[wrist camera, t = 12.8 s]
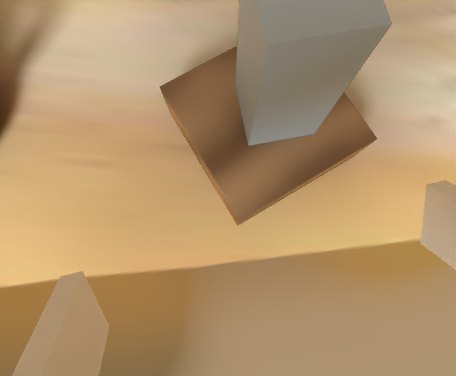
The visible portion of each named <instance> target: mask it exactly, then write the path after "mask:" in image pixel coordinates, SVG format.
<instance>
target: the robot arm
mask: <svg viewBox="0 0 456 376" xmlns="http://www.w3.org/2000/svg"><path fill="white" fill-rule="evenodd" d="M420 243H421V244H422V245H424V246H425V247H426V248H427V249H429V250H430V251H431V252H433V253H434V254H435V255H437V256H438V257H439V258H441V259H442V260H443V261H445V262H446V263H447V264H449V265H450V266H451V267H453V268H454V269H455V270H456V185H454V184H452V183H449V182H447V181H445V180H444V181H440V182H436V183H432V184H428V185H427V187H426V196H425V204H424V213H423V222H422V230H421V239H420ZM108 330H109V325H108V323H107V321H106V319H105V317H104V314H103V312H102V310H101V308H100V306H99V304H98V302H97V300H96V298H95V296H94V294H93V292H92V290H91V288H90V286H89V284H88V282H87V279H86V277H85V275H84V273H83V271H81V272H77V273H73V274H69V275H65V276H61V277H60V278H59V280H58V282H57V285H56V286H55V288H54V290H53V293H52V295H51V297H50V299H49V301H48V303H47V305H46V307H45V309H44V311H43V313H42V315H41V317H40V319H39V321H38V323H37V325H36V328H35V329H34V331H33V334H32V336H31V338H30V340H29V342H28V344H27V346H26V348H25V350H24V352H23V354H22V356H21V358H20V360H19V362H18V364H17V366H16V368H15V370H14V372H13V375H12V376H99V371H100V366H101V362H102V357H103V353H104V348H105V344H106V339H107V335H108Z"/></svg>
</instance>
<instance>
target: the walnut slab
mask: <svg viewBox="0 0 456 376" xmlns="http://www.w3.org/2000/svg"><path fill="white" fill-rule="evenodd" d="M236 60H237V46H236V47H235V48H233V49H231V50H229V51H227V52H225V53H223V54H221V55H219V56H217V57H215V58H214V59H212V60H210V61H208V62H206V63H204V64H202V65H200V66H198V67H196V68H194V69H193V70H191V71H189V72H187V73H185V74H183V75H181V76H179V77H177V78H175V79H174V80H172V81H170V82H168V83H166V84H164V85H162V86H160V89H161V91H162V94H163V96H164V99H165V101H166V104H167V106H168V108H169V111H170V113H171V115H172V117H173V118H174V120H175V122H176V123H177V125H178V127H179V128H180V130H181V132H182V133H183V135H184V137H185V138H186V140H187V142H188V143H189V145H190V147H191V148H192V150H193V152H194V153H195V155H196V157H197V159H198V160H199V162H200V164H201V165H202V167H203V169H204V170H205V172H206V174H207V175H208V177H209V179H210V180H211V182H212V184H213V185H214V187H215V189H216V190H217V192H218V194H219V195H220V197H221V199H222V200H223V202H224V204H225V205H226V207H227V209H228V210H229V212H230V214H231V216H232V217H233V219H234V221H235V222H236V224H237V226H238V225H240V224H241V223H243V222H245V221H246V220H248V219H250V218H251V217H253V216H255V215H256V214H258V213H260V212H261V211H263V210H265V209H266V208H268V207H270V206H271V205H273V204H275V203H276V202H278V201H280V200H281V199H283V198H285V197H286V196H288V195H290V194H292V193H293V192H295V191H297V190H298V189H300V188H302V187H303V186H305V185H307V184H308V183H310V182H312V181H313V180H315V179H317V178H318V177H320V176H322V175H323V174H325V173H327V172H328V171H330V170H332V169H333V168H335V167H337V166H338V165H340V164H342V163H343V162H345V161H347V160H348V159H350V158H352V157H353V156H355V155H356V154H357V153H359V152H360V151H361V150H363V149H364V148H365V147H367V146H368V145H369V144H371V143H372V142H373V141H375V140H376V139H377V138H376V136H375V135H374V133H373V132H372V131H371V129H370V128H369V127H368V125H367V124H366V122H365V121H364V120H363V118H362V117H361V116H360V114H359V113H358V111H357V110H356V109H355V107H354V106H353V105H352V103H351V102H350V100H349V99H348V98H347V96H346V95H345V94H344V92H343V94H342V95H341V97H340V98H339V99H338V101H337V102H336V104H335V105H334V106H333V108H332V109H331V111H330V112H329V113H328V115H327V116H326V118H325V119H324V121H323V122H322V123H321V125H320V126H319V128H318V129H317V130H316V132H315V133H314V134H311V135H306V136H300V137H295V138H289V139H284V140H278V141H273V142H267V143H262V144H256V145H251V146H248V142H247V137H246V133H245V128H244V123H243V119H242V114H241V110H240V105H239V101H238V96H237V92H236V87H235V80H236Z"/></svg>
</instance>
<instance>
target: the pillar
mask: <svg viewBox="0 0 456 376" xmlns="http://www.w3.org/2000/svg"><path fill="white" fill-rule="evenodd" d="M391 24H392V23H391V21H390V18H389V15H388V12H387V10H386V7H385V4H384V1H383V0H239V19H238V39H237V60H236V80H235V87H236V92H237V96H238V101H239V105H240V110H241V114H242V119H243V123H244V128H245V133H246V137H247V142H248V146H251V145H256V144H262V143H267V142H273V141H278V140H284V139H289V138H295V137H300V136H306V135H311V134H314V133H315V132H316V130H317V129H318V128H319V126H320V125H321V123H322V122H323V121H324V119H325V118H326V116H327V115H328V113H329V112H330V111H331V109H332V108H333V106H334V105H335V104H336V102H337V101H338V99H339V98H340V97H341V95H342V94H343V92H344V91H345V89H346V88H347V87H348V85H349V84H350V82H351V81H352V80H353V78H354V77H355V75H356V74H357V72H358V71H359V70H360V68H361V67H362V65H363V64H364V63H365V61H366V60H367V58H368V57H369V55H370V54H371V53H372V51H373V50H374V48H375V47H376V46H377V44H378V43H379V41H380V40H381V38H382V37H383V36H384V34H385V33H386V31H387V30H388V29H389V27H390V26H391Z"/></svg>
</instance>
